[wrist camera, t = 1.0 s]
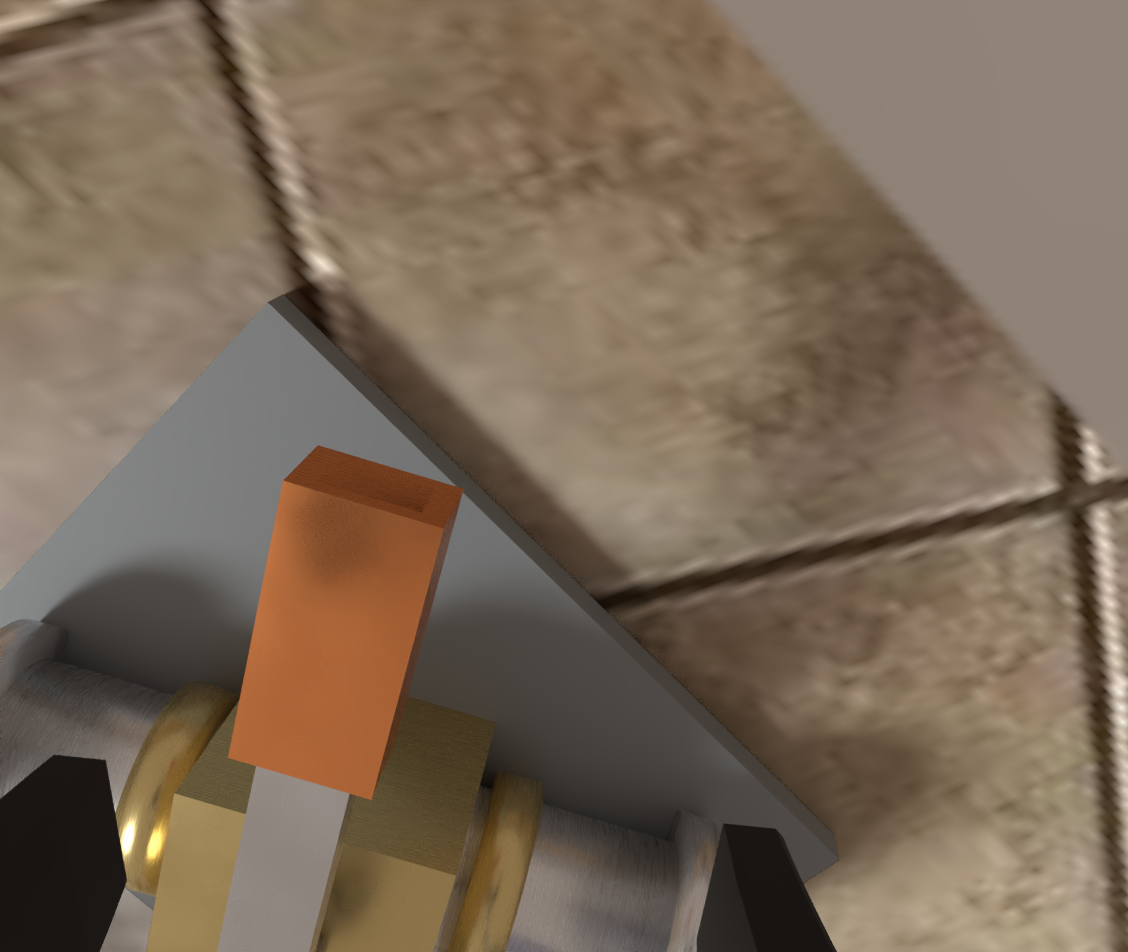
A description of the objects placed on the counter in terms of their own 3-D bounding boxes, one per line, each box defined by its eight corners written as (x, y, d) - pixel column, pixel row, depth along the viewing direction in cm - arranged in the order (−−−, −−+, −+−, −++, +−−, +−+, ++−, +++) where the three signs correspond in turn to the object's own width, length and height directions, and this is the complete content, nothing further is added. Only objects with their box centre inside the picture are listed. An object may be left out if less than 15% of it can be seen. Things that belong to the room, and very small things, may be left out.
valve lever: (316, 1070, 21) (287, 1150, 19) (184, 1033, 21) (145, 1110, 19) (476, 492, 16) (456, 535, 14) (305, 441, 16) (267, 478, 14)
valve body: (717, 769, 27) (740, 1015, 20) (648, 934, 29) (646, 1211, 22) (60, 574, 26) (-164, 751, 19) (39, 756, 29) (-170, 977, 21)
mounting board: (833, 833, 27) (839, 859, 26) (432, 1097, 32) (425, 1126, 31) (283, 294, 23) (267, 302, 23) (-80, 684, 28) (-105, 704, 27)
